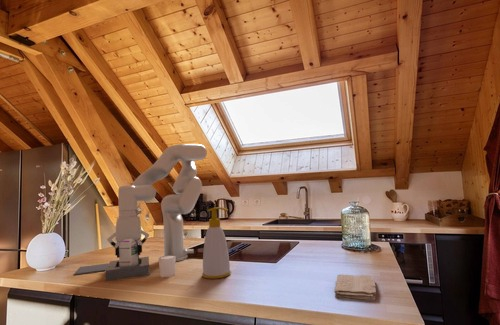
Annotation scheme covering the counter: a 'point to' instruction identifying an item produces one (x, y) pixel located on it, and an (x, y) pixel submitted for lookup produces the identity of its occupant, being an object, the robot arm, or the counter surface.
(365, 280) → the washcloth
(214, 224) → the soap bottle
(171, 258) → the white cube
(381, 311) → the counter surface
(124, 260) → the syrup box
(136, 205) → the robot arm
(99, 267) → the rubber mat
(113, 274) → the socket block
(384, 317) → the counter surface
